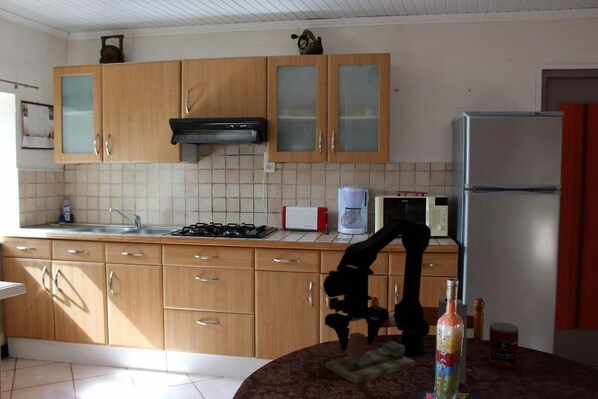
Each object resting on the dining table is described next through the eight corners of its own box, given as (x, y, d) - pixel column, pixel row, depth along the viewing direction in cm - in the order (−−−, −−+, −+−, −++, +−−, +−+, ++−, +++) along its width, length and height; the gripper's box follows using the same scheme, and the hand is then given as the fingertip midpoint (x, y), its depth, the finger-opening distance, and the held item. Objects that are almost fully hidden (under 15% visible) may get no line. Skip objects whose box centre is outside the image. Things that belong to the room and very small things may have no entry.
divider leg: (358, 360, 143) (359, 331, 142) (370, 366, 139) (371, 336, 138) (347, 363, 141) (348, 334, 140) (359, 369, 136) (360, 339, 136)
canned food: (488, 366, 144) (489, 328, 143) (489, 357, 151) (490, 321, 151) (517, 370, 141) (518, 332, 140) (516, 360, 148) (518, 324, 148)
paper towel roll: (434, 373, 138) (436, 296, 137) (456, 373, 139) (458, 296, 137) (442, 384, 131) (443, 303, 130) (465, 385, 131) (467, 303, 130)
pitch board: (383, 352, 155) (383, 335, 154) (414, 366, 144) (415, 348, 144) (325, 367, 143) (325, 349, 142) (355, 383, 132) (355, 364, 131)
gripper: (364, 282, 151) (363, 333, 152) (313, 290, 141) (312, 345, 142) (390, 289, 142) (389, 344, 143) (338, 298, 132) (337, 357, 132)
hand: (357, 347), depth 140 cm, fingers open, 9 cm apart
